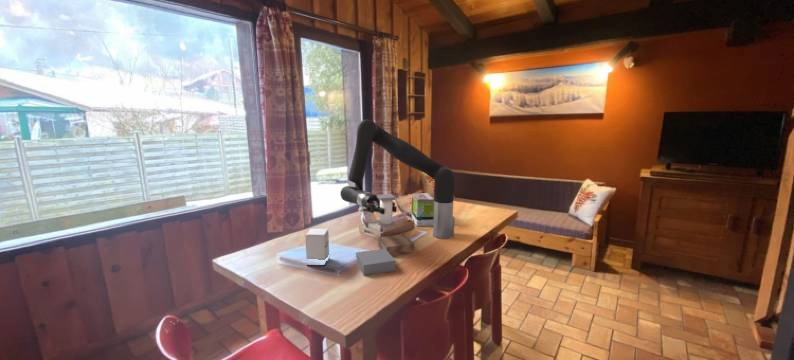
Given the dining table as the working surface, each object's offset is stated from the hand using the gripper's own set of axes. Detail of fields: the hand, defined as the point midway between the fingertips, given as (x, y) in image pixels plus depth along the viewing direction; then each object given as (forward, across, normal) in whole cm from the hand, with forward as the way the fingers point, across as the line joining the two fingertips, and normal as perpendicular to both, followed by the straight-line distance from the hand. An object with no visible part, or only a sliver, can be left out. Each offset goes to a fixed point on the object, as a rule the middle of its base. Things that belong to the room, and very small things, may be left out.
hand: (389, 210), depth 127 cm
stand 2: (-6, +7, +20) cm, 22 cm away
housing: (-3, 0, +7) cm, 7 cm away
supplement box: (-12, -25, +20) cm, 35 cm away
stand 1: (+3, -9, +20) cm, 22 cm away
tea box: (-30, +41, +20) cm, 54 cm away
